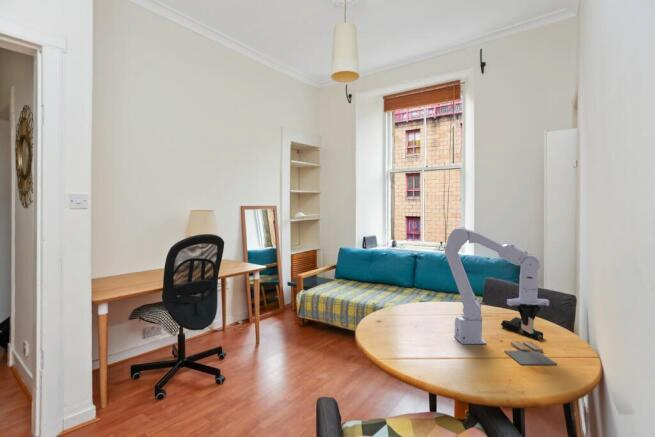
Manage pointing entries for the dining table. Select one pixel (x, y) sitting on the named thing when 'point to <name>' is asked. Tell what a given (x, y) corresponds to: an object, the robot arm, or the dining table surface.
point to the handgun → (516, 327)
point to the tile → (528, 326)
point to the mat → (530, 358)
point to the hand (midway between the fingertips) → (527, 324)
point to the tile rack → (526, 343)
